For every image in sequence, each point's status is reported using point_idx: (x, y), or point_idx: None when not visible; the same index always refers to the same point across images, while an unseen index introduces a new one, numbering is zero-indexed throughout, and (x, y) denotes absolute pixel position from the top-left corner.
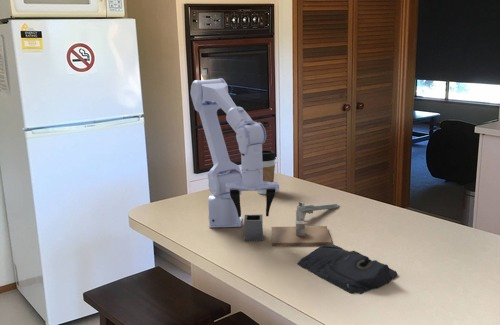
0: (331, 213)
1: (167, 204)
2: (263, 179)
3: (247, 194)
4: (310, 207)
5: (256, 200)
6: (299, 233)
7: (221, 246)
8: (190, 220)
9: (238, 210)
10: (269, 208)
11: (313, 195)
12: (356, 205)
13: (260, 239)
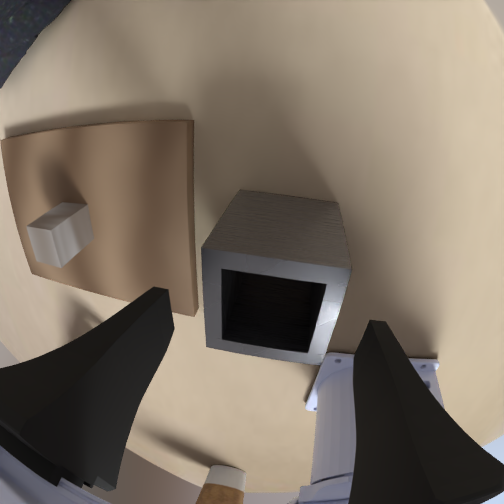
0: None
1: None
2: (222, 496)
3: (267, 473)
4: None
5: (248, 457)
6: (70, 208)
7: (458, 168)
8: (457, 401)
9: (399, 358)
10: (107, 319)
11: None
12: None
13: (249, 193)
